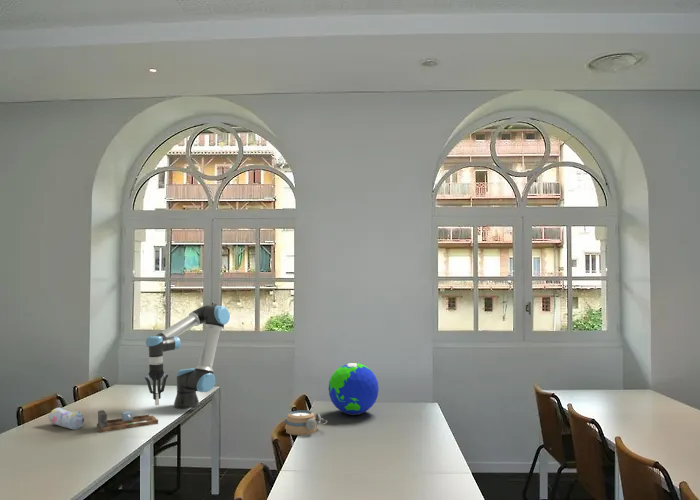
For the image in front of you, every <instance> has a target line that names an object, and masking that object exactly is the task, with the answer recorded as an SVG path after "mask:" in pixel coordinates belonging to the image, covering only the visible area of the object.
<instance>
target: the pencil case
mask: <svg viewBox="0 0 700 500" xmlns="http://www.w3.org/2000/svg"><path fill="white" fill-rule="evenodd" d="M48 420H49V422H50V423H51V424H52V425H54V426H55V425H56V426H60V427H62V428H66V429H70V430H78V429H80V428H81V427H82V426H84V422H85V418H84V414H82V413H81V412H80V411H78V410H76V411H69V410H66V409H64V408H61V407H55V408H54V409H52V410H51V411H50V412H49V415H48Z"/></svg>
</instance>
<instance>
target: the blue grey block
mask: <svg viewBox="0 0 700 500" xmlns="http://www.w3.org/2000/svg"><path fill="white" fill-rule="evenodd" d="M133 417H134V412H133V411H132V410H127V411H122V412H121V418H122V421H128V420H133Z"/></svg>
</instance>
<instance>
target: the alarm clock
mask: <svg viewBox="0 0 700 500" xmlns="http://www.w3.org/2000/svg"><path fill="white" fill-rule="evenodd" d="M322 421H324V423H321V422H322ZM282 423H285V425H284V430H285V429H286V432H285V433H286V434H288V435H292V436H306V435H312V434H314V433H316V432H317V431H318V425H319V426H321V425H322V426H323V425H325V424H327V423H328V420H326V419H324V417H321V414H320V413H319V412H318V413H316V415H315V414H314V413H313V411H309V410H299V409H298V410H294V411H290V412H289V413H288V414H287V418H286V420H284V421H282Z"/></svg>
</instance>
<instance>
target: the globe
mask: <svg viewBox="0 0 700 500" xmlns="http://www.w3.org/2000/svg"><path fill="white" fill-rule="evenodd" d="M328 395H329V397H330V401H331V403H332V404H333V405H334V407H335V408H336V409H338V410H339V411H340V412H343V413H344V414H346V415H350V416H356V415H360V414H363V413H366V412H368V411H369V410H370V409H371V408H372V407H373V406H374V404H375V403H376V401H377V399H378V396H379V381H378V379H377V376H376V375H375V373H374V372H373V370H371V369H370V368H369V367H368V366H366V365H364V364H361V363H356V362H351V363H350V362H348V363H346V364H343V365H340V366H339V367H338V368H337V369H336V370H335V371H334V372H333V373H332V374H331V377H330V379H329V382H328Z"/></svg>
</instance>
